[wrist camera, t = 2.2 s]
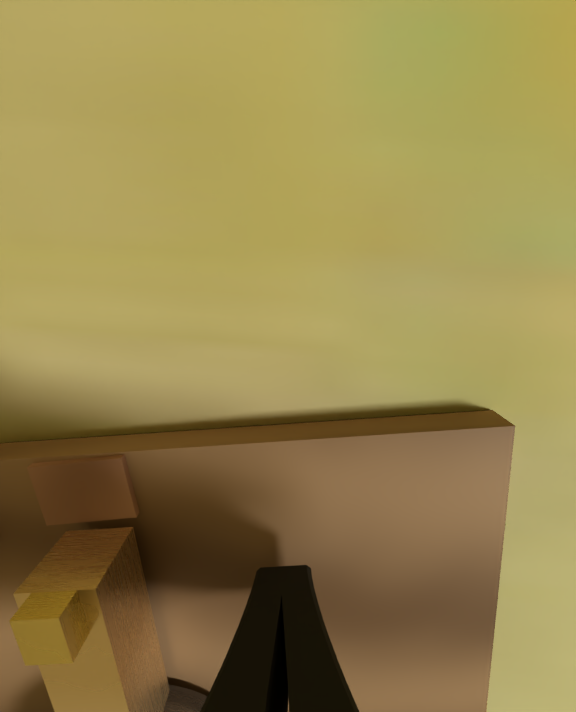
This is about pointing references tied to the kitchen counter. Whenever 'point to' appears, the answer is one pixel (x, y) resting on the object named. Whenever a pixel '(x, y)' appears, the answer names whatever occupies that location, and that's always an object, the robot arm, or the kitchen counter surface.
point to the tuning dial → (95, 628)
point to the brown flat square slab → (286, 542)
